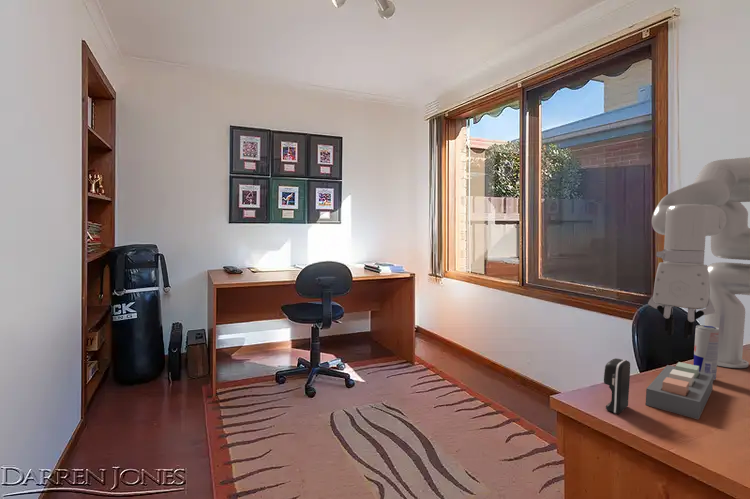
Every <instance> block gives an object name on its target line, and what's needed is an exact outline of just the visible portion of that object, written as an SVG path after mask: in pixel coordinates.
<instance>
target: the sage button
mask: <svg viewBox="0 0 750 499" xmlns="http://www.w3.org/2000/svg"><path fill="white" fill-rule="evenodd" d="M675 367H676V369H675V370H680V371H684V372H689V373H694V378H698V377H699V366H696V365H693V364H691V363H686V362H681V361H678V362H677V364H676V365H675Z"/></svg>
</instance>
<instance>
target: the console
mask: <svg viewBox="0 0 750 499" xmlns="http://www.w3.org/2000/svg"><path fill="white" fill-rule="evenodd" d="M673 369H676V366H673V365H669V364H667V365H666V366H665V367H663V369H662V370H661V372H660V373H659V374H658V375H657V376H655V378H654V379H653V381H652V382H651V383H649V385H648V386H647V387H646V390H645V391H646V393H645V406H648V407H652V408H654V409H659V410H662V411H667V412H670V413H674V414H677V415H680V416H684V417H688V418H692V419H695V420H698V421H699V419H700V418H701V415H702V413H703V411H704V410H705V407H706V404H707V402H708V400H709V397H710V396H711V394H712V392H713V387H714V385H713V384H714V380H713V374H708V373H703V372H699V377H698V378H694V385H693V387H690V386H689V392H688V395H687V396H683V395H679V394H675V393H671V392H667V391H662V385H663V381H664V380H665V378H666V377H669V374H670V372H671V371H672V370H673Z"/></svg>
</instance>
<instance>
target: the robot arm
mask: <svg viewBox="0 0 750 499" xmlns="http://www.w3.org/2000/svg"><path fill="white" fill-rule="evenodd" d="M743 203H750V156H749V157H738V158H727V159H726V158H724V159H723V158H722V159H717V160H713V161H710V162H708V163H706V164H705V165H704V166H702V168H701V170H700V171H699V173H698V175H697V177H696V178H695V179H694V181H693V183H691V184H688V185H686V186H683V187H681V188H679V189H676V190H675V191H672V192H669V193H667V194H665V196H663V198H661V200H660V201H659V202H658V204H657V205H656V207H655V209H654V210H653V213H652V217H651V226H652V228H653V230H654V232H656V233H657V234H659V235H662V236H664V240H663V241H664V242H663V246H664V247H663V250H662V251H661V250H660V251H656V254H655V256H656V258H660V259H662V261H663V262H662V261H660V262H658V265H657V269H656V273H655V279H654V285H653V286H654V287H653V294H652V296H651V297H650V298H649V300H648V302H647V304H648V306H650V307H652V308H653V309H656V310H658V312H659V313H660V314H661V315H662V316H663V318H665V319H664V322H665V323H664V324H665V325H664V331H665V332H667V336H670V337H671V336H673V335H674V332H675V317H674V315H673V310H674V308H675V307H676V308H681V309H682V308H683V309H687V317H686V320H685V321H684V326H683V327H684V330H683V338H684V339H689V338H690V336H694V330H695V329H694V328H695V321H697V320H698V319H700V318H701V317H702V316H704V325H706V326H713V327H717V328H719V342H718V357H717V367H723V368H730V369H731V368H732V369H747V368H748V367H749V365H750V363H749V361H747V360H746V359H744V358H743V352H744V350H743V349H744V348H743V347H744V336H745V325H746V324H745V322H746V308H745V306H744V304H743V302H742V301H741V300H740V299H739V297H737V295H741V296H742V295H743V296H750V263H743V262H742V263H741V262H727V261H722V262H721V261H720V262H713V263H711V264H705V252H706V251H705V249H706V238H707V237H710V250H711V251H710V252H711V253H712V255H713V256H714V257H715V258H720V259H725V260H727V259H728V260H738V261H739V260H742V261H750V227H749V225H748V224H749V211H748V210H747V208H746V207H745V206H744V205H743ZM697 310H698V311H697Z"/></svg>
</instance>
